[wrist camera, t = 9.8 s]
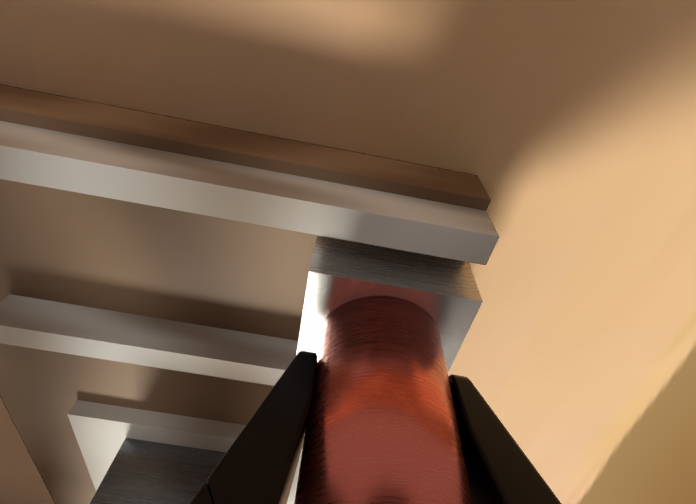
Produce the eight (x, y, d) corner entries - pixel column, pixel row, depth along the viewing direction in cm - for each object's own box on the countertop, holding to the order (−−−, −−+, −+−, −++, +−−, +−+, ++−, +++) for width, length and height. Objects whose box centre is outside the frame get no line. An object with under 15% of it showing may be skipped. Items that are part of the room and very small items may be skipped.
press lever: (301, 332, 12) (243, 617, 7) (317, 234, 10) (252, 525, 5) (428, 353, 12) (474, 645, 7) (468, 261, 10) (576, 569, 5)
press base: (75, 478, 22) (41, 535, 19) (-98, 65, 10) (-234, 88, 8) (345, 515, 22) (342, 574, 20) (477, 175, 11) (505, 224, 9)
